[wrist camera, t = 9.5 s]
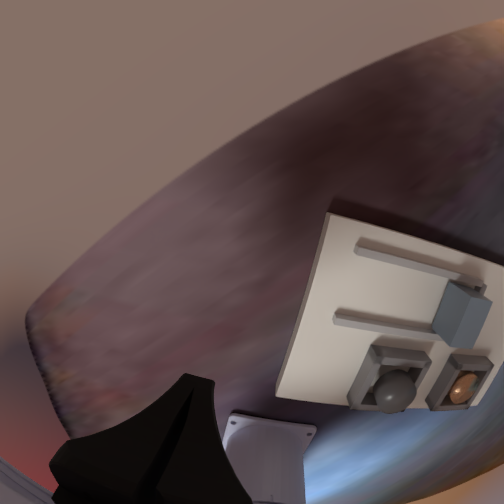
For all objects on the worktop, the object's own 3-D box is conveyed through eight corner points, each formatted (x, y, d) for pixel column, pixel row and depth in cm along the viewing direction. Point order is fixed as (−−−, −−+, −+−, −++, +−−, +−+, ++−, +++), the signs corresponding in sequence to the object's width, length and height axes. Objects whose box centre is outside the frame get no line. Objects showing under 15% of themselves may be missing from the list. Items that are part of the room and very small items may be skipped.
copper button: (460, 393, 20) (467, 403, 18) (438, 393, 20) (445, 404, 18) (476, 366, 19) (484, 376, 17) (454, 365, 19) (463, 376, 17)
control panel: (471, 397, 22) (483, 414, 19) (275, 384, 22) (275, 410, 19) (528, 275, 18) (547, 285, 15) (326, 211, 19) (336, 217, 16)
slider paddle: (453, 330, 18) (472, 349, 15) (431, 327, 18) (449, 347, 15) (470, 287, 17) (492, 301, 14) (448, 281, 17) (471, 296, 14)
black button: (398, 400, 19) (405, 413, 17) (366, 399, 19) (371, 413, 17) (415, 370, 18) (423, 383, 16) (382, 367, 18) (389, 381, 16)
